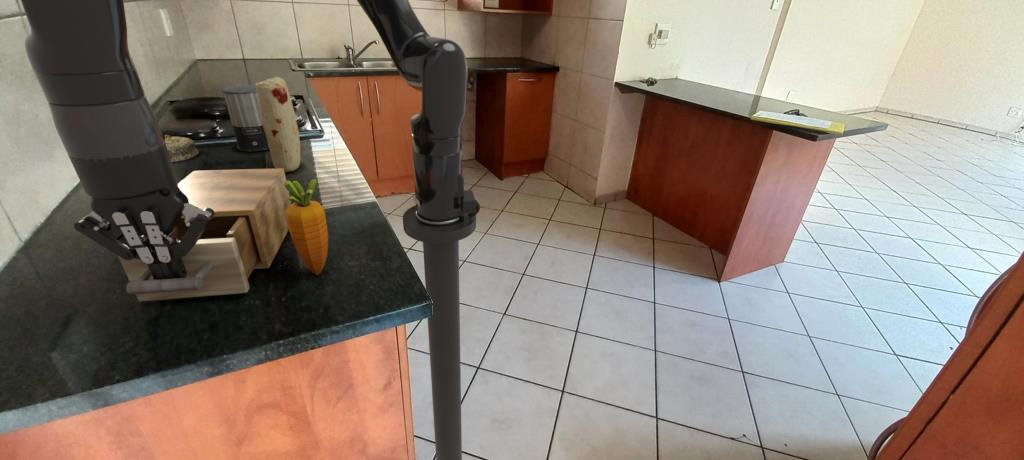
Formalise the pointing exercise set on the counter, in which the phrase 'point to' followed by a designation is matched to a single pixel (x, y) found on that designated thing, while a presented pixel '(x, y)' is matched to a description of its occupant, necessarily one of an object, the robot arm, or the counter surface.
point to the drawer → (203, 263)
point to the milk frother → (246, 117)
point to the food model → (279, 123)
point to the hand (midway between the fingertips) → (173, 284)
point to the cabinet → (245, 202)
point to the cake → (180, 148)
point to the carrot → (307, 226)
